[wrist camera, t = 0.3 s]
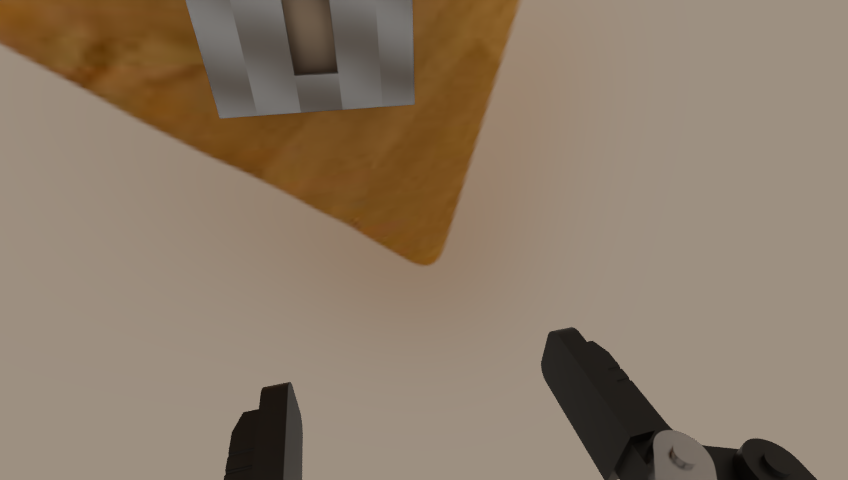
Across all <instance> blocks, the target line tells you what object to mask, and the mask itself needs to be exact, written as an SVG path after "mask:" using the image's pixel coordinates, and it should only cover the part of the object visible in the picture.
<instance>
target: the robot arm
mask: <svg viewBox="0 0 848 480" xmlns="http://www.w3.org/2000/svg"><path fill="white" fill-rule="evenodd" d="M541 368H542V373H543V376H544V378H545V381H546V382H547V384H548V386H549V388H550V389H551V391H552V393H553V394H554V396H555V397H556V399H557V401H558V403H559V404H560V406H561V408H562V409H563V411H564V413H565V414H566V416H567V418H568V420H569V421H570V423H571V425H572V426H573V428H574V430H575V431H576V433H577V434H578V436H579V438H580V440H581V441H582V443H583V445H584V446H585V448H586V450H587V451H588V453H589V455H590V456H591V458H592V460H593V461H594V463H595V465H596V467H597V468H598V470H599V472H600V473H601V475H602V476H603V478H604V480H617V479H620V480H817V479H816V478H815V477H814V476H813V475H812V474H811V473H810V472H809V471H808V470H807V469H806V468H805V467H804V466H803V465H802V463H800V461H799V460H797V459H796V458H795V457H794V456H793V455H792V454H791V453H790V452H788V451H786V450H785V449H784V448H782V447H780V446H779V445H777V444H775V443H773V442H770V441H767V440H763V439H750V440H747V441H746V442H745V443H744V444H743V445H742V446H741V448H740V449H731V448H721V447H711V446H703V445H701V444H700V443H698V442H697V441H696V440H695V439H693V438H691V437H690V436H688V435H686V434H684V433H681V432H678V431H673V430H672V429H671V428H670V427H669V426H668V425H667V424H666V422H665V421H664V420H663V419H662V417H661V416H660V415H659V414H658V413H657V411H656V410H655V409H654V408H653V406H652V405H651V404H650V403H649V402H648V400H647V399H646V398H645V397H644V395H643V394H642V393H641V392H640V391H639V389H638V388H637V387H636V386H635V384H634V383H633V382H632V381H630V380H629V377H628V376H627V374H626V373H625V372H624V371H623V370H622V369H620V367H619V365H618V363H617V362H616V361H615V360H614V358H613V357H612V356H611V355H610V353H609V352H607V351H606V350H605V349H603V348H602V347H600V346H599V345H598V344H596V343H595V342H593V341H589V342H586V340H585V339H584V338H583V337H582V335H581V334H580V333H579V331H578V330H576V329H575V328H572V327H571V328H566V329H561V330H556V331H551V332H550V333H549V334H548V338H547V341H546V345H545V350H544V353H543V357H542V361H541ZM302 434H303V433H302V420H301V414H300V410H299V407H298V403H297V400H296V397H295V393H294V390H293V387H292V384H291V382H288V383H283V384H278V385H273V386H268V387H263V388H262V391H261V396H260V405H259V409H258V410H253V411H248V412H244V413H243V414H242V416H241V417H240V419H239V421H238V423H237V425H236V426H235V428H234V430H233V432H232V435H231V441H230V447H229V457H228V459H227V464H226V470H225V471H226V475H225V476H224V480H302V438H303V437H302V436H303V435H302Z"/></svg>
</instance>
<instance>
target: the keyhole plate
mask: <svg viewBox="0 0 848 480" xmlns="http://www.w3.org/2000/svg"><path fill="white" fill-rule="evenodd" d="M186 4H187V7H188V10H189V14H190V17H191V21H192V24H193V28H194V31H195V34H196V38H197V41H198V45H199V48H200V52H201V55H202V58H203V62H204V65H205V69H206V72H207V76H208V79H209V82H210V86H211V89H212V93H213V96H214V99H215V103H216V106H217V110H218V113H219V117H220V118H232V117H246V116H260V115H274V114H288V113H302V112H316V111H330V110H344V109H358V108H372V107H386V106H400V105H414V104H415V96H414V53H413V10H412V0H186Z"/></svg>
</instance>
